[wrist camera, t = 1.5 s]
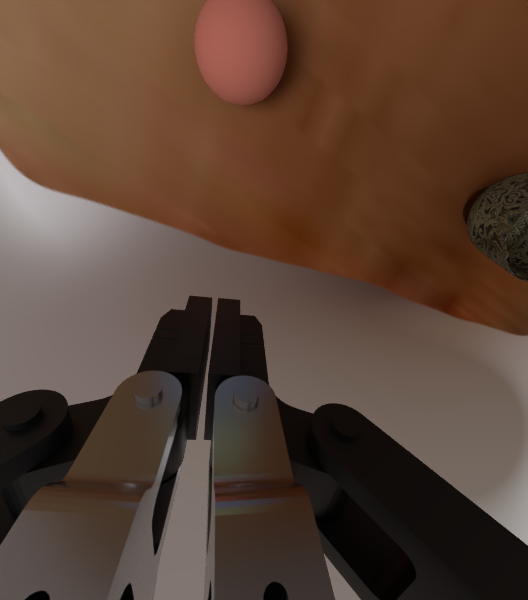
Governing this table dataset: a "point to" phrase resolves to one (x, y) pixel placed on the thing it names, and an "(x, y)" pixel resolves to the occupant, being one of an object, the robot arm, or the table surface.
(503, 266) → the cup
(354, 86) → the table surface
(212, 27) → the ball
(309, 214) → the table surface
